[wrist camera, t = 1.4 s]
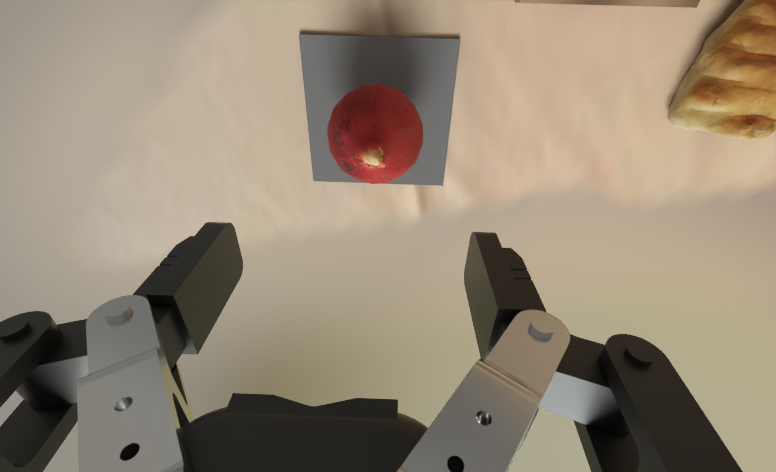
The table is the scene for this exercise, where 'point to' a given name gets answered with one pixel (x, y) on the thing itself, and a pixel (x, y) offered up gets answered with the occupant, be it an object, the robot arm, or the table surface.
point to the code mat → (388, 67)
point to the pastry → (733, 77)
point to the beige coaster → (622, 2)
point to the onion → (375, 134)
